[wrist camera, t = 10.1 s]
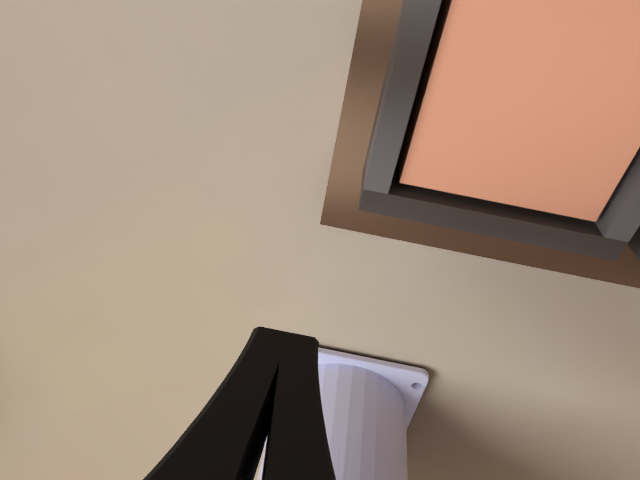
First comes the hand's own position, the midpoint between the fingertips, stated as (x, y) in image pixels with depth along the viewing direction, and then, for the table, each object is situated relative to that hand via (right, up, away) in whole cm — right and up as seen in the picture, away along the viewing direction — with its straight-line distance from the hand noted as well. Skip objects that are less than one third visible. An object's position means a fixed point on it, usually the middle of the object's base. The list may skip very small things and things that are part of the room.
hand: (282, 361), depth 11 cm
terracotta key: (+7, +8, +5) cm, 11 cm away
